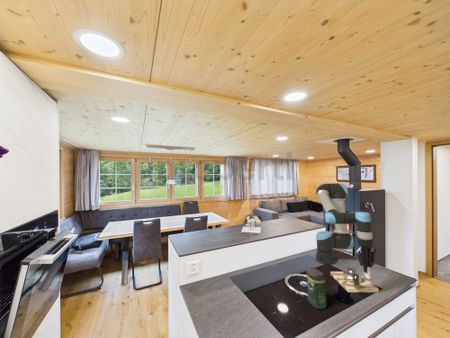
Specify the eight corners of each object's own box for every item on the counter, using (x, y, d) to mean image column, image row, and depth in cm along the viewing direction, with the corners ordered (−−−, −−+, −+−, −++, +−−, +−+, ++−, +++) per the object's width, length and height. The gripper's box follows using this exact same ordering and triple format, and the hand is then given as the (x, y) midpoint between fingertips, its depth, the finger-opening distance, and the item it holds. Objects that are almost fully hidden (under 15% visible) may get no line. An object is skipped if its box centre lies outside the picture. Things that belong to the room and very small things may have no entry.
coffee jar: (329, 308, 97) (327, 273, 98) (316, 311, 96) (314, 275, 97) (317, 297, 107) (315, 265, 108) (305, 299, 105) (303, 266, 106)
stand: (330, 274, 130) (330, 271, 130) (356, 274, 129) (356, 271, 129) (348, 292, 110) (347, 288, 110) (378, 292, 109) (378, 288, 109)
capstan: (342, 273, 126) (341, 262, 127) (359, 276, 122) (358, 264, 123) (347, 288, 110) (346, 275, 111) (367, 291, 106) (366, 278, 107)
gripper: (367, 235, 115) (370, 273, 114) (350, 237, 113) (353, 275, 111) (379, 238, 108) (383, 279, 106) (361, 241, 105) (364, 282, 104)
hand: (367, 277), depth 109 cm, fingers closed
